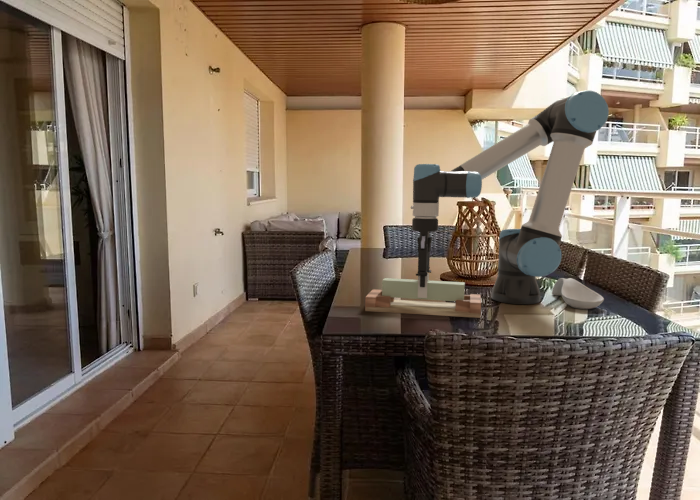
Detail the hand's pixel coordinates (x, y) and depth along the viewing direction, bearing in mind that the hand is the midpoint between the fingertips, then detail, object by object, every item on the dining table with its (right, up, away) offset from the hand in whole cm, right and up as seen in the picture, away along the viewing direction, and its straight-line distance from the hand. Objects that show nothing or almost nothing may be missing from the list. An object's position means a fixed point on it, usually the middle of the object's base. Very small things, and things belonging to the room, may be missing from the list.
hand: (423, 295), depth 153 cm
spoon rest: (+49, -4, +10) cm, 50 cm away
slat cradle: (0, -4, +1) cm, 4 cm away
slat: (0, -1, 0) cm, 1 cm away
